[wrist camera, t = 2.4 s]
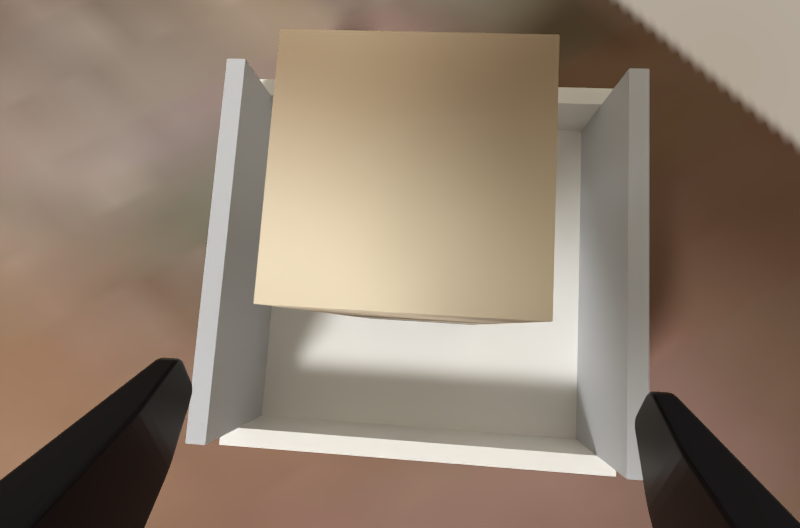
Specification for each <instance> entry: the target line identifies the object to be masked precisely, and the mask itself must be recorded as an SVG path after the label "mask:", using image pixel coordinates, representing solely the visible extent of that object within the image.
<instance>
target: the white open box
mask: <svg viewBox="0 0 800 528" xmlns="http://www.w3.org/2000/svg"><path fill="white" fill-rule="evenodd" d="M274 85H275V80H273V79H259V78H258V76H257V75H256V74H255V72H254V71H253V69H252V68H251V66H250V65H249V64H248V62H247V61H246V59H227V65H226V75H225V84H224V93H223V102H222V111H221V121H220V130H219V139H218V148H217V157H216V167H215V176H214V185H213V194H212V203H211V213H210V222H209V231H208V240H207V249H206V259H205V268H204V277H203V286H202V295H201V304H200V314H199V323H198V332H197V341H196V350H195V360H194V369H193V378H192V396H191V399H190V406H189V415H188V424H187V433H186V442H185V443H187V444H199V445H206V444H208V443H210V442H212V441H214V440H216V439H218V438H220V442H219V445H231V446H243V447H255V448H268V449H280V450H293V451H305V452H317V453H330V454H342V455H355V456H367V457H380V458H392V459H404V460H417V461H429V462H442V463H454V464H466V465H479V466H491V467H504V468H516V469H528V470H541V471H553V472H566V473H578V474H591V475H603V476H615V477H616V471H617V472H618V473H620V474H621V475H622V476H623V477H625V478H626V479H632V480H643V477H642V470H641V464H640V458H639V452H638V445H637V439H636V433H635V418H636V415H637V413H638V411H639V409H640V407H641V405H642V403H643V401H644V399H645V397H646V395H647V394H648V393H649V69H638V68H629V69H628V70H627V72H626V73H625V74H624V76H623V77H622V78H621V80H620V81H619V82H618V84H617V85H616V86H615V87H614V89H607V88H569V87H558V124H557V166H556V208H555V249H554V291H553V322H531V323H507V324H482V325H467V324H450V323H434V322H417V321H401V320H384V319H369V318H361V317H354V316H346V315H338V314H330V313H322V312H314V311H306V310H299V309H291V308H283V307H275V306H267V305H259V304H254V293H255V283H256V272H257V262H258V252H259V241H260V231H261V220H262V210H263V200H264V189H265V179H266V168H267V158H268V147H269V137H270V127H271V116H272V106H273V95H274Z"/></svg>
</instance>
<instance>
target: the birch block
mask: <svg viewBox="0 0 800 528" xmlns="http://www.w3.org/2000/svg"><path fill="white" fill-rule="evenodd" d="M559 41H560V35H559V34H508V33H457V32H406V31H355V30H304V29H280V33H279V43H278V54H277V64H276V75H275V85H274V95H273V106H272V116H271V127H270V137H269V147H268V158H267V168H266V179H265V189H264V200H263V210H262V220H261V231H260V241H259V252H258V262H257V272H256V283H255V293H254V304H259V305H267V306H275V307H283V308H291V309H299V310H306V311H314V312H322V313H330V314H338V315H346V316H354V317H361V318H369V319H384V320H401V321H417V322H434V323H450V324H467V325H482V324H507V323H531V322H553V291H554V249H555V208H556V166H557V124H558V82H559Z"/></svg>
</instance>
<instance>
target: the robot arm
mask: <svg viewBox="0 0 800 528" xmlns="http://www.w3.org/2000/svg"><path fill="white" fill-rule="evenodd" d="M191 396H192V383H191V381H190V378H189V376H188V374H187V371H186V369H185V366H184V364H183V362H182V361H181V360H180V359H175V358H159V359H157V360H155V361H154V362H153V363H151V364H150V365H149V366H148V367H146V368H145V369H144V370H142V371H141V372H140V373H139V374H137V375H136V376H135V377H133V378H132V379H131V380H129V381H128V382H127V383H126V384H124V385H123V386H122V387H120V388H119V389H118V390H116V391H115V392H114V393H113V394H111V395H110V396H109V397H107V398H106V399H105V400H104V401H102V402H101V403H100V404H98V405H97V406H96V407H94V408H93V409H92V410H91V411H89V412H88V413H87V414H85V415H84V416H83V417H82V418H80V419H79V420H78V421H76V422H75V423H74V424H72V425H71V426H70V427H69V428H67V429H66V430H65V431H63V432H62V433H61V434H60V435H58V436H57V437H56V438H54V439H53V440H52V441H50V442H49V443H48V444H47V445H45V446H44V447H43V448H41V449H40V450H39V451H38V452H36V453H35V454H34V455H32V456H31V457H30V458H28V459H27V460H26V461H25V462H23V463H22V464H21V465H19V466H18V467H17V468H15V469H14V470H13V471H12V472H10V473H9V474H8V475H6V476H5V477H4V478H3V479H1V480H0V528H144V527H145V525H146V522H147V520H148V518H149V515H150V513H151V511H152V508H153V506H154V504H155V501H156V499H157V497H158V494H159V492H160V489H161V487H162V485H163V482H164V480H165V478H166V475H167V472H168V470H169V467H170V464H171V461H172V458H173V455H174V452H175V449H176V445H177V442H178V439H179V436H180V432H181V429H182V426H183V422H184V419H185V416H186V413H187V409H188V406H189V403H190V399H191ZM635 433H636V439H637V445H638V452H639V458H640V464H641V470H642V477H643V483H644V489H645V495H646V501H647V506H648V511H649V515H650V519H651V523H652V526H653V528H800V523H799V522H798V521H797V520H796V519H795V518H794V517H793V516H792V515H791V514H790V513H789V511H788V510H787V509H786V508H785V507H784V506H783V505H782V504H781V503H780V502H779V501H778V500H777V499H776V498H775V497H774V496H773V495H772V494H771V493H770V492H769V491H768V490H767V489H766V488H765V487H764V486H763V485H762V484H761V483H760V482H759V481H758V480H757V479H756V478H755V477H754V476H753V475H752V473H751V472H750V471H749V470H748V469H747V468H746V467H745V466H744V465H743V464H742V463H741V462H740V461H739V460H738V459H737V458H736V457H735V456H734V455H733V454H732V453H731V452H730V451H729V450H728V449H727V448H726V447H725V446H724V445H723V444H722V443H721V442H720V441H719V440H718V439H717V438H716V437H715V435H714V434H713V433H712V432H711V431H710V430H709V429H708V428H707V427H706V426H705V425H704V424H703V423H702V422H701V421H700V420H699V419H698V418H697V417H696V416H695V415H694V414H693V413H692V412H691V411H690V410H689V409H688V408H687V407H686V406H685V405H684V404H683V403H682V402H681V401H680V400H679V399H678V398H677V397H676V396H675V395H674V394H672V393H667V392H649V393H648V394H647V395H646V397H645V399H644V401H643V403H642V405H641V407H640V409H639V411H638V413H637V415H636V418H635Z"/></svg>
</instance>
